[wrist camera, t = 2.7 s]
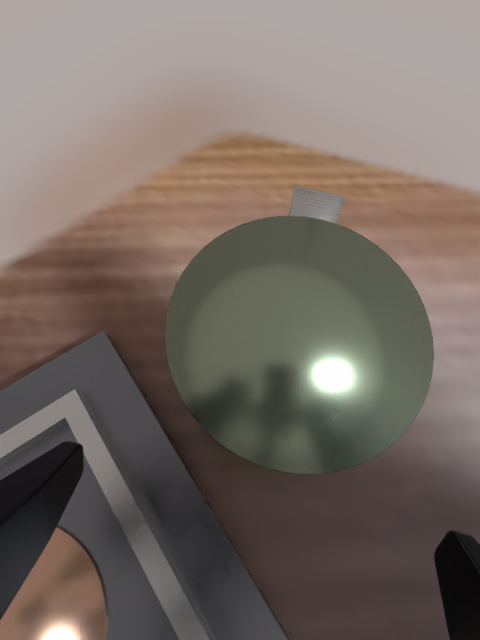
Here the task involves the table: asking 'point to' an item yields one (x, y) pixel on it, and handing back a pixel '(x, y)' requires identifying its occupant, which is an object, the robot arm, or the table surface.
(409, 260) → the table surface
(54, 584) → the port plate
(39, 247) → the table surface
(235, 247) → the spout can
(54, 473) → the robot arm
